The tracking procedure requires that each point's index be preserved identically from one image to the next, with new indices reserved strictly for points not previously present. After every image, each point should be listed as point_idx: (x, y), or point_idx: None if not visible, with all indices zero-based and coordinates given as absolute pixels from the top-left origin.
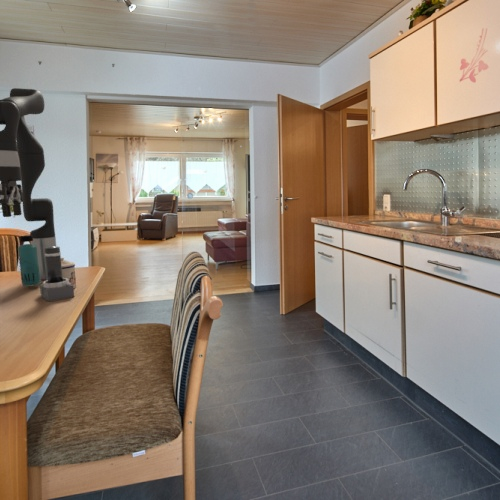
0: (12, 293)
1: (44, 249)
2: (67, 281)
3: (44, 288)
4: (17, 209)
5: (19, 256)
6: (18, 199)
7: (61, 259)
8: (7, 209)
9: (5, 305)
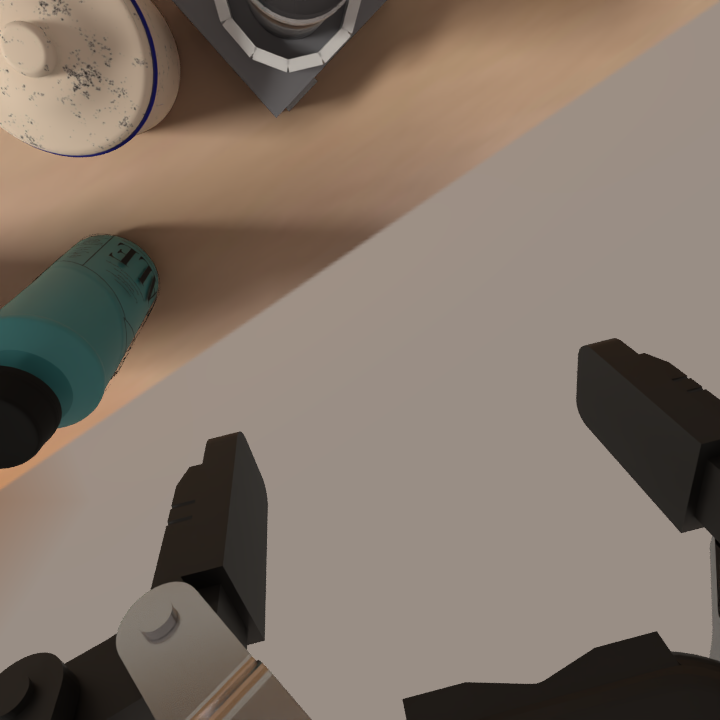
0: (234, 294)
1: (335, 5)
2: None
3: (349, 39)
4: (245, 518)
5: (112, 375)
6: (258, 662)
7: (44, 32)
8: (711, 397)
9: (425, 196)
